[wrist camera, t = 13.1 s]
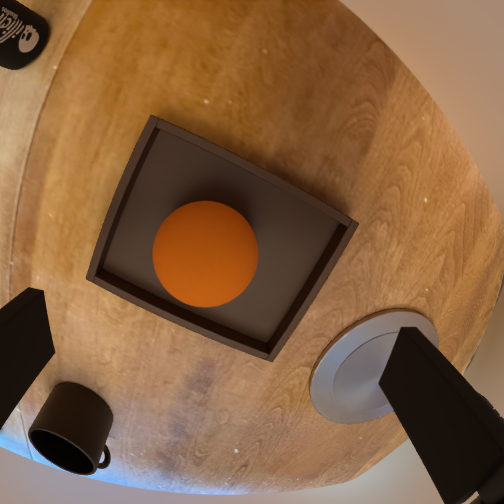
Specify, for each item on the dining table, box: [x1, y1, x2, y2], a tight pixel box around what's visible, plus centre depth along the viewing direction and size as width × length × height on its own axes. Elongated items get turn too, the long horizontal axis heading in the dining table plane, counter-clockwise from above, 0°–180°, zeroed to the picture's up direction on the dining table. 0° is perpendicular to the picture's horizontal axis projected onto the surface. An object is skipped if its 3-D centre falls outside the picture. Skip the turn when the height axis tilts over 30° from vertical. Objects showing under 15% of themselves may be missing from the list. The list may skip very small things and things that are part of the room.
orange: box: [152, 201, 258, 307], centre depth 23 cm, size 8×8×8 cm
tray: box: [86, 115, 359, 362], centre depth 26 cm, size 20×16×3 cm
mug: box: [28, 383, 113, 475], centre depth 29 cm, size 9×12×9 cm
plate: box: [309, 309, 439, 424], centre depth 33 cm, size 18×18×1 cm
